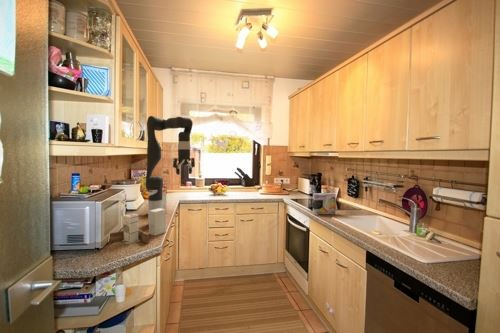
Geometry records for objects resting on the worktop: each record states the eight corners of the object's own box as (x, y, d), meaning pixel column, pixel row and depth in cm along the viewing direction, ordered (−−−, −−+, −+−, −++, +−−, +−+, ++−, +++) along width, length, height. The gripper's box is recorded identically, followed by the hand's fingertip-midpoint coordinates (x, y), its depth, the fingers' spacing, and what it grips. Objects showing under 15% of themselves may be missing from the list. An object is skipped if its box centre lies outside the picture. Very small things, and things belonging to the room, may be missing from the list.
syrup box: (138, 239, 148) (138, 214, 147) (129, 242, 143) (129, 216, 142) (132, 238, 151) (132, 213, 150) (123, 240, 146) (122, 215, 145)
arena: (107, 242, 144) (107, 233, 143) (137, 236, 155) (137, 228, 155) (117, 250, 132) (117, 240, 132) (149, 243, 144) (148, 234, 143)
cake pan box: (313, 215, 215) (313, 193, 214) (311, 213, 220) (311, 192, 219) (335, 215, 217) (336, 193, 216) (333, 213, 222) (334, 192, 221)
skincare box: (159, 231, 166) (159, 207, 165) (166, 232, 163) (166, 208, 162) (148, 234, 159) (148, 210, 158) (155, 236, 156) (155, 211, 155)
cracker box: (166, 214, 211) (166, 188, 210) (161, 215, 206) (161, 189, 205) (153, 212, 217) (153, 187, 216) (148, 213, 212) (147, 188, 211)
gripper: (190, 149, 174) (190, 173, 175) (170, 148, 164) (170, 174, 165) (197, 149, 169) (196, 174, 169) (177, 148, 159) (177, 175, 159)
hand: (184, 174), depth 167 cm, fingers open, 8 cm apart
